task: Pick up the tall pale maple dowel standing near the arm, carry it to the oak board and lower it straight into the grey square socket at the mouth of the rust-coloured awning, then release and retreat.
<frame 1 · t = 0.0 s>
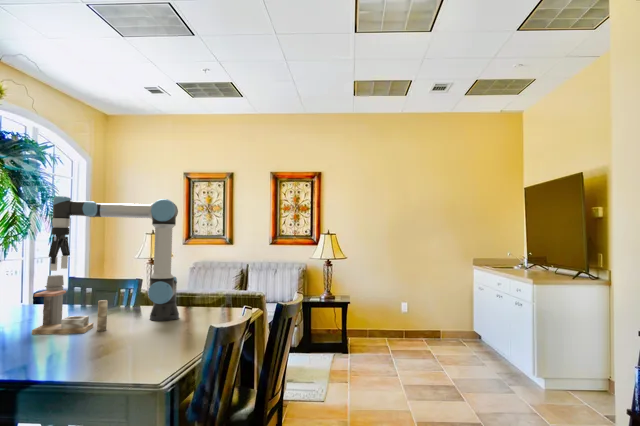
hand: (59, 269, 214), 28 cm above the table, fingers open, 13 cm apart
peg: (101, 330, 205), on the table
socket station: (63, 330, 203), on the table
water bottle: (51, 326, 212), on the table
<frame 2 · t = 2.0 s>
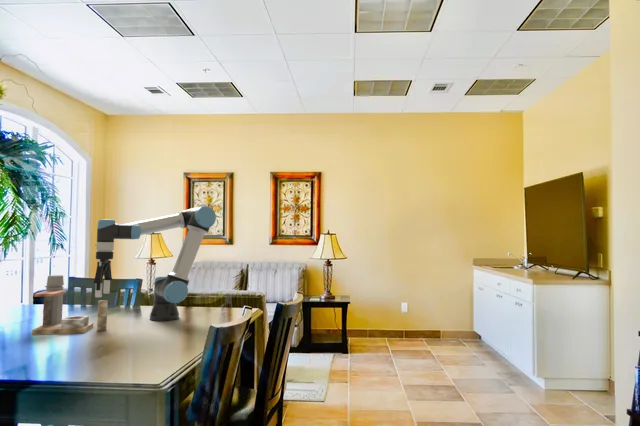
hand: (102, 295, 206), 17 cm above the table, fingers open, 13 cm apart
nothing on the table moved.
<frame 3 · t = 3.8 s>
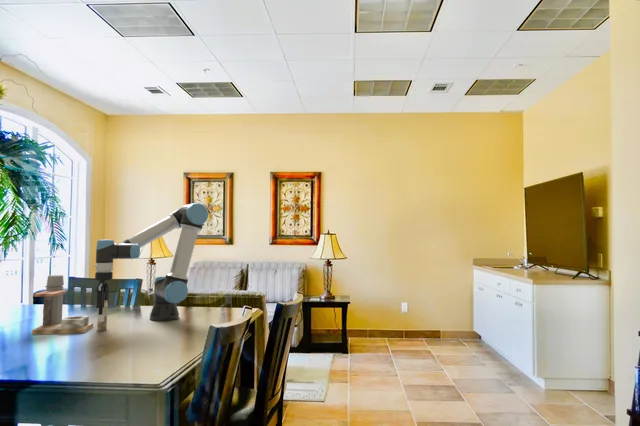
hand: (102, 320, 206), 5 cm above the table, fingers closed on peg, 4 cm apart
peg: (101, 330, 205), on the table, touching gripper
everything else where it was.
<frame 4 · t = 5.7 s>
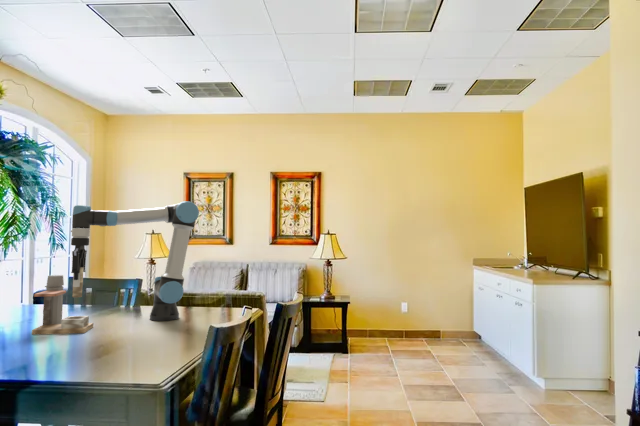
hand: (77, 286, 205), 21 cm above the table, fingers closed on peg, 4 cm apart
peg: (77, 296, 205), point 16 cm above the table, touching gripper
everything else where it was.
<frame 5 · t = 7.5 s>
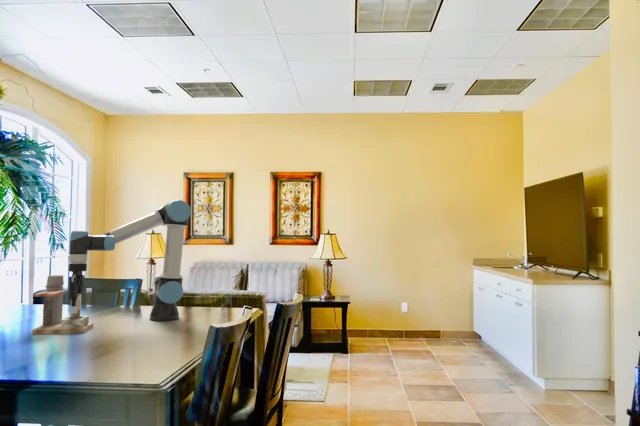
hand: (75, 312, 204), 9 cm above the table, fingers closed on peg, 4 cm apart
peg: (74, 323, 204), point 3 cm above the table, touching gripper
everything else where it was.
when the fingers open (7 cm above the table, at t = 8.0 s): peg stays where it is, resting on socket station.
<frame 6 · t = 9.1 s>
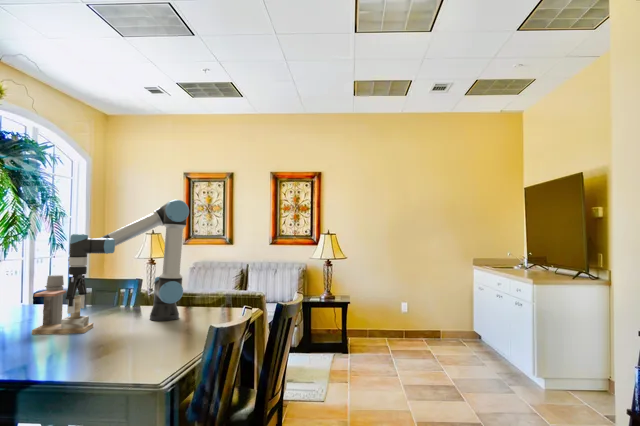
hand: (76, 310, 204), 9 cm above the table, fingers open, 13 cm apart
peg: (74, 326, 204), point 2 cm above the table, touching socket station
everything else where it was.
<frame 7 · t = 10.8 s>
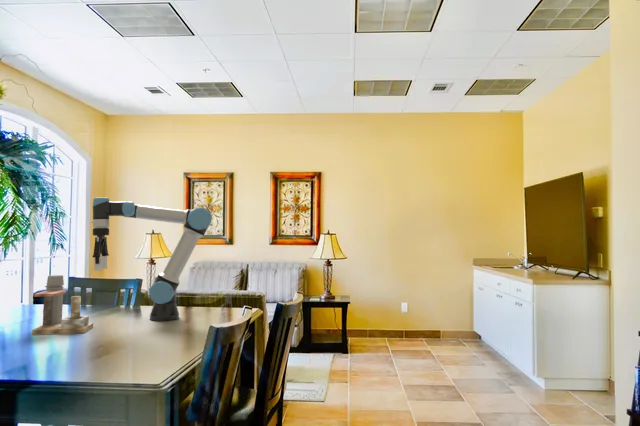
hand: (100, 269, 217), 28 cm above the table, fingers open, 13 cm apart
nothing on the table moved.
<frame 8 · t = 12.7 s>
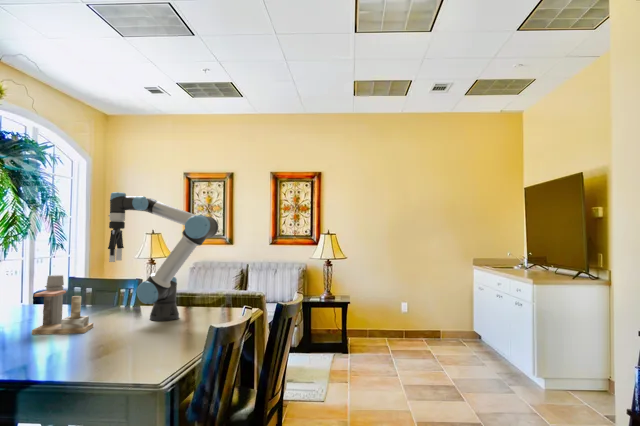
hand: (115, 261, 228), 32 cm above the table, fingers open, 13 cm apart
nothing on the table moved.
at the end: peg 0.1 cm from the target spot on the socket station, point 2.0 cm above the socket station's base; peg tilted 1°; the gripper is holding nothing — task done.
